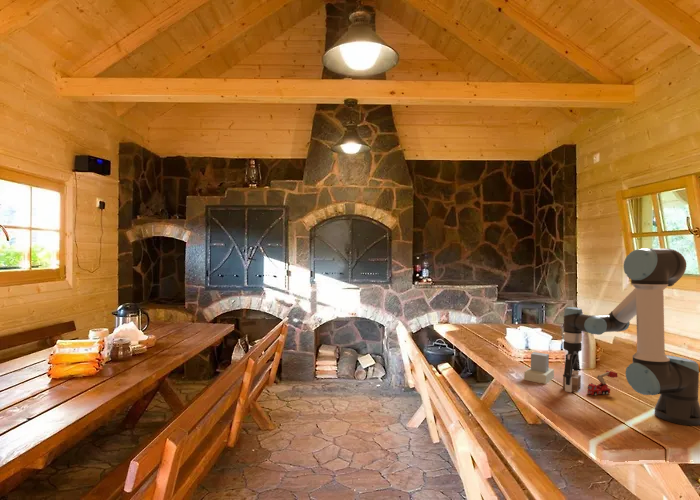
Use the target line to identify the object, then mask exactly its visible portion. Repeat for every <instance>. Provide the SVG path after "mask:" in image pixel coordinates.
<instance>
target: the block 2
mask: <svg viewBox="0 0 700 500" xmlns="http://www.w3.org/2000/svg"><path fill="white" fill-rule="evenodd" d="M571 377H572V392H579V390H581V387H582V383H581V380H582V377H581V374H579V375H576V374H572V375H571ZM562 388H563V390H565V377H563V376H562Z"/></svg>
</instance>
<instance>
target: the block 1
mask: <svg viewBox="0 0 700 500" xmlns="http://www.w3.org/2000/svg"><path fill="white" fill-rule="evenodd" d="M549 357H550V354H549V353H544V352H543V353H542V352H537V351H533V352H532V353H530V368H531V370H533V371H539V372H545V373H546V372H547V371H548V370H549V368H550V365H549V363H550V362H549V361H550V358H549Z"/></svg>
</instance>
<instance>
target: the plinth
mask: <svg viewBox="0 0 700 500" xmlns="http://www.w3.org/2000/svg"><path fill="white" fill-rule="evenodd" d="M523 373H524V376H523V379H524V381H528V382H529V381H530V382H534V383H539V384H544V385H547V383H549V382H550V381H551V380H553V378H554V377H555V369H554V368H550V367H549V370H548V371H547V372H546V373H545V372H539V371H533V370H531V367H529V368H528V369H526V370H525V371H524V372H523Z"/></svg>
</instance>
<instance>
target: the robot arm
mask: <svg viewBox="0 0 700 500" xmlns="http://www.w3.org/2000/svg"><path fill="white" fill-rule="evenodd" d="M686 269H687V262H686V259H685V257H684V255H683V254H681V252H679V251H678V250H675V249H672V248H650V247H649V248H647V247H645V248H638V249H634V250H632V251H630V252H629V253H628V254H627V255H626V257H625V259H624V261H623V272H624V274H625V275H626V277H628V278H629V279H630V284H631V286H633V287H634V289H633V290H631V292H630V293H629V294H628V295H627V296H626V297H625V298H623V300H622V301H620V302H619V304H618V305H617V306H616V307H614V308H613V309H612V311H610V312H609V313H608V314H596V315H589V314H585V313H583V309H582V308H580V307H574V306H570V307H569V306H568V307H565V308H564V310H563V316H562V317H563V332H562V333H561V335H562V336H563V341H562V343H563V345H562V346H563V347H562V348H563V350H565V351H567V353H566V354H565V362H564V372H563V374H562V378H563V377H565V389H564V392H567V393H568V392H569V393H572V392H573V391H572V377H571V375H572V374H576V375H580V374H579V373H580V371H581V368H580V367H581V365H580V357H579V356H580V355H579V352H581V351H582V349H583V347H582V346H583V344H582V341H583V332H584V333H589V334H590V335H598V336H599V335H603V334H605V333H611V332H613V333H614V332H617V333H619V332H623V331H626V330H628V329H629V328H630V327H629V326H630V321H631V320H632V319H633V318H635V317H636V352H635V353H633V354H632V363H630V364H628V366H626V368H625V379H626V381H627V383H628V385H629V386H630V387H631V388H632V390H634V391H635V392H637V393H639V394H641V395H643V396H656V395H659V397H658V399H657V402H656V404H655V406H654V415H655V416H656V417H657V418H658V419H661V420H664V421H665V422H670V423H673V424H678V425H684V426H694V427H695V426H700V403H699V384H700V383H699V379H700V378H699V376H700V371H699V369H700V368H699V364H698V362H696V361H694V360H692V359H688V358H684V357H679V356H674V355H669V354H665V349H666V347H665V309H664V308H665V307H664V304H665V303H664V300H665V299H664V290H665V289H667V288H669V287H673V286H674V285H675V284H676V283H678V281H679V280H681V278H682V277H683V276H684V274H685V272H686Z"/></svg>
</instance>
